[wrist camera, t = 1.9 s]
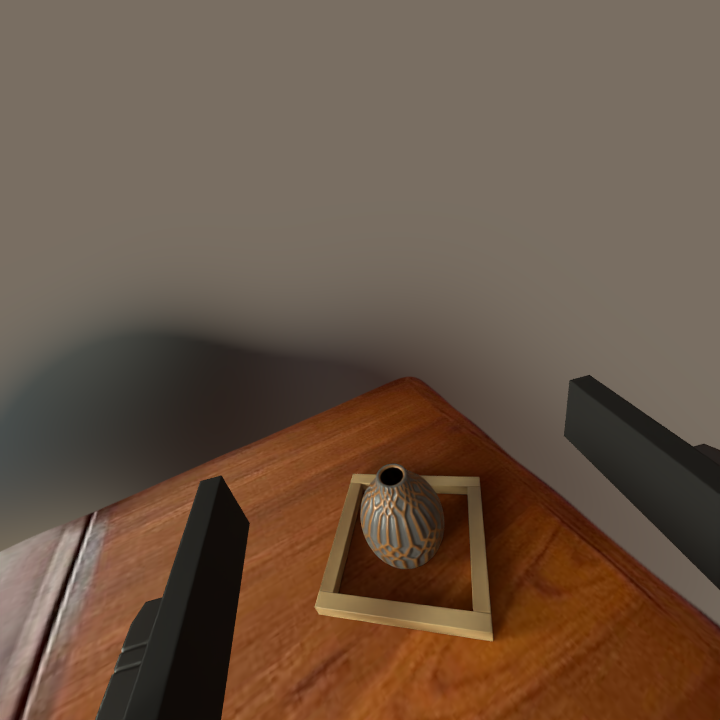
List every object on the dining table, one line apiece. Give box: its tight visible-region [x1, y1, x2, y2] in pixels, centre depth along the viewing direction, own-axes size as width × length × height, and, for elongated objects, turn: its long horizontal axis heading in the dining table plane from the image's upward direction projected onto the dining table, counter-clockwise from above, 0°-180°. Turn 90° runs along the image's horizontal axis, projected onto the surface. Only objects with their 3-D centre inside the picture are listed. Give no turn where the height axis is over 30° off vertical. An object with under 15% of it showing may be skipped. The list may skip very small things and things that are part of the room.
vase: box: [360, 464, 444, 569], centre depth 29 cm, size 7×7×9 cm
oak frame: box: [315, 474, 493, 641], centre depth 31 cm, size 13×13×1 cm
